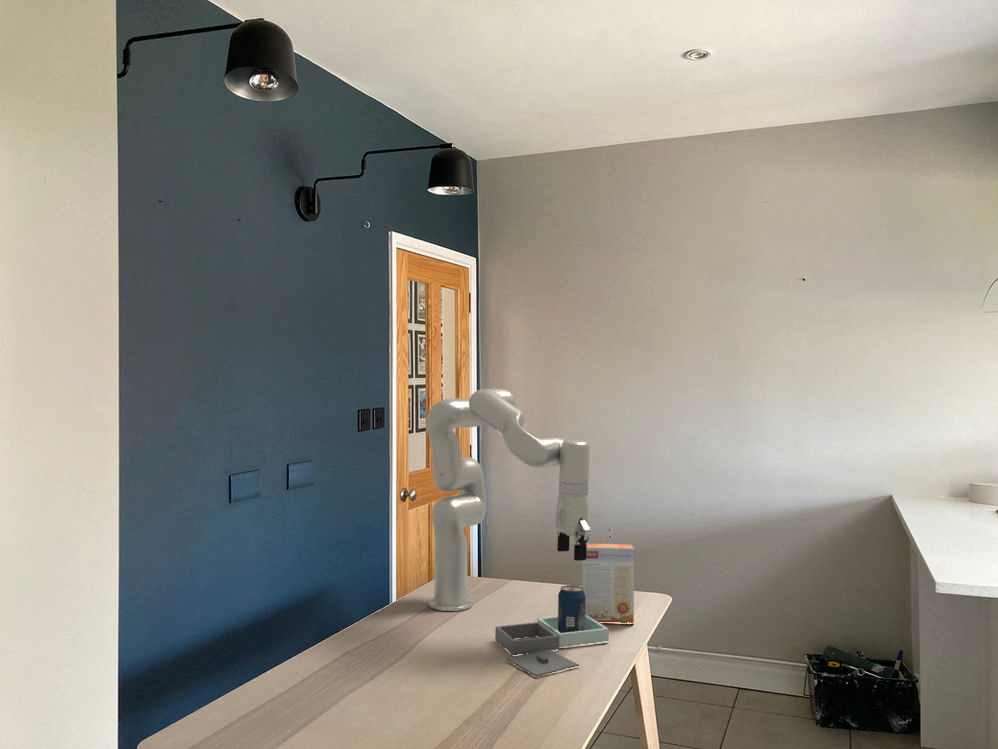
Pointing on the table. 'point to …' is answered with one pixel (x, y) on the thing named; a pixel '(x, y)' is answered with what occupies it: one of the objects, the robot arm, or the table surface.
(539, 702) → the table surface
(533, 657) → the lid
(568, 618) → the soda can
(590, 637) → the bin
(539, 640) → the bin
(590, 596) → the cracker box
